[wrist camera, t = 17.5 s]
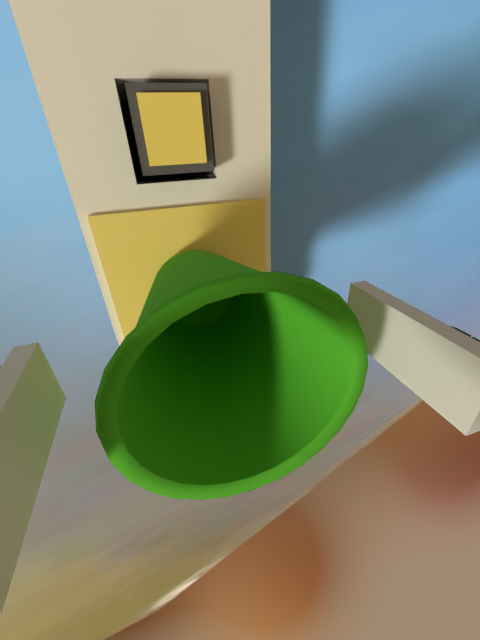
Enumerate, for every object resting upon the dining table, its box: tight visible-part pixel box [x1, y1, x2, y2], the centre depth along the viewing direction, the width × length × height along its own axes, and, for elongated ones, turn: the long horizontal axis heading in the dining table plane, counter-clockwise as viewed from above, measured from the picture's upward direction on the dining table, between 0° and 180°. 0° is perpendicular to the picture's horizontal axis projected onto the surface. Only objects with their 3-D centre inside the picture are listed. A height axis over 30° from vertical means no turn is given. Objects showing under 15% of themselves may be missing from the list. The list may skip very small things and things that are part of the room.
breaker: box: [125, 82, 214, 176], centre depth 16 cm, size 4×4×6 cm
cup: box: [95, 250, 368, 500], centre depth 14 cm, size 9×9×11 cm
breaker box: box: [9, 0, 271, 346], centre depth 17 cm, size 26×11×5 cm, turn 3°
